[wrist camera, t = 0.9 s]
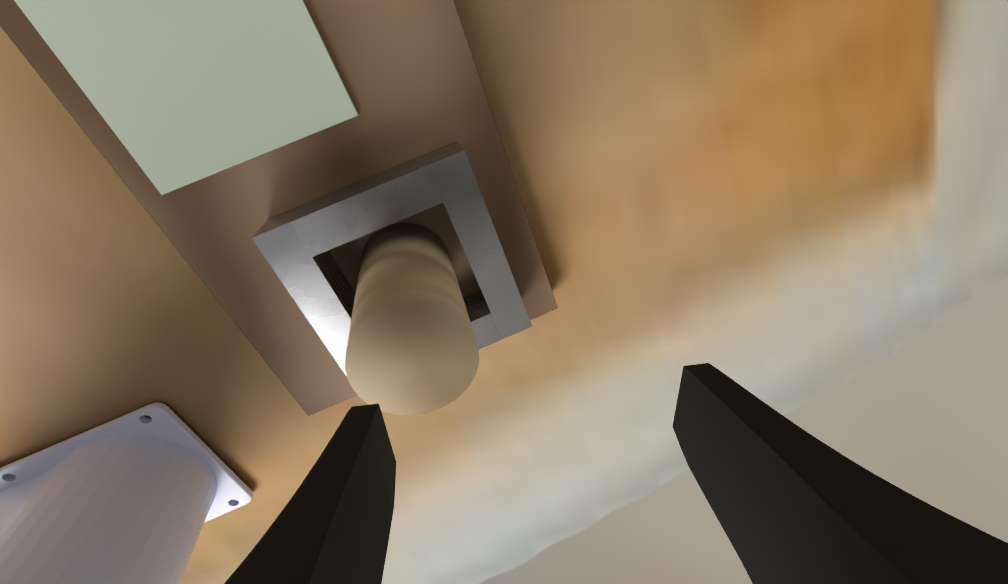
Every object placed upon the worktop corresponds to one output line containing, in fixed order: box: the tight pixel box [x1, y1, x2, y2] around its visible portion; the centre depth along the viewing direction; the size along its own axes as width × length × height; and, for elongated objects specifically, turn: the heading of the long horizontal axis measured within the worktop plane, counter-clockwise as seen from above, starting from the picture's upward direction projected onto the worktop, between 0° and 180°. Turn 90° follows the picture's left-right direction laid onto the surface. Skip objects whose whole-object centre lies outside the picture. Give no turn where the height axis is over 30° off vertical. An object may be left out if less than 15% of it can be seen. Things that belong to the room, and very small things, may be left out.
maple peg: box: [345, 223, 479, 415], centre depth 17 cm, size 4×4×8 cm
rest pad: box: [14, 0, 358, 195], centre depth 15 cm, size 8×8×1 cm
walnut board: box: [0, 0, 558, 416], centre depth 19 cm, size 14×21×2 cm, turn 19°
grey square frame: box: [252, 141, 532, 376], centre depth 20 cm, size 8×8×2 cm
